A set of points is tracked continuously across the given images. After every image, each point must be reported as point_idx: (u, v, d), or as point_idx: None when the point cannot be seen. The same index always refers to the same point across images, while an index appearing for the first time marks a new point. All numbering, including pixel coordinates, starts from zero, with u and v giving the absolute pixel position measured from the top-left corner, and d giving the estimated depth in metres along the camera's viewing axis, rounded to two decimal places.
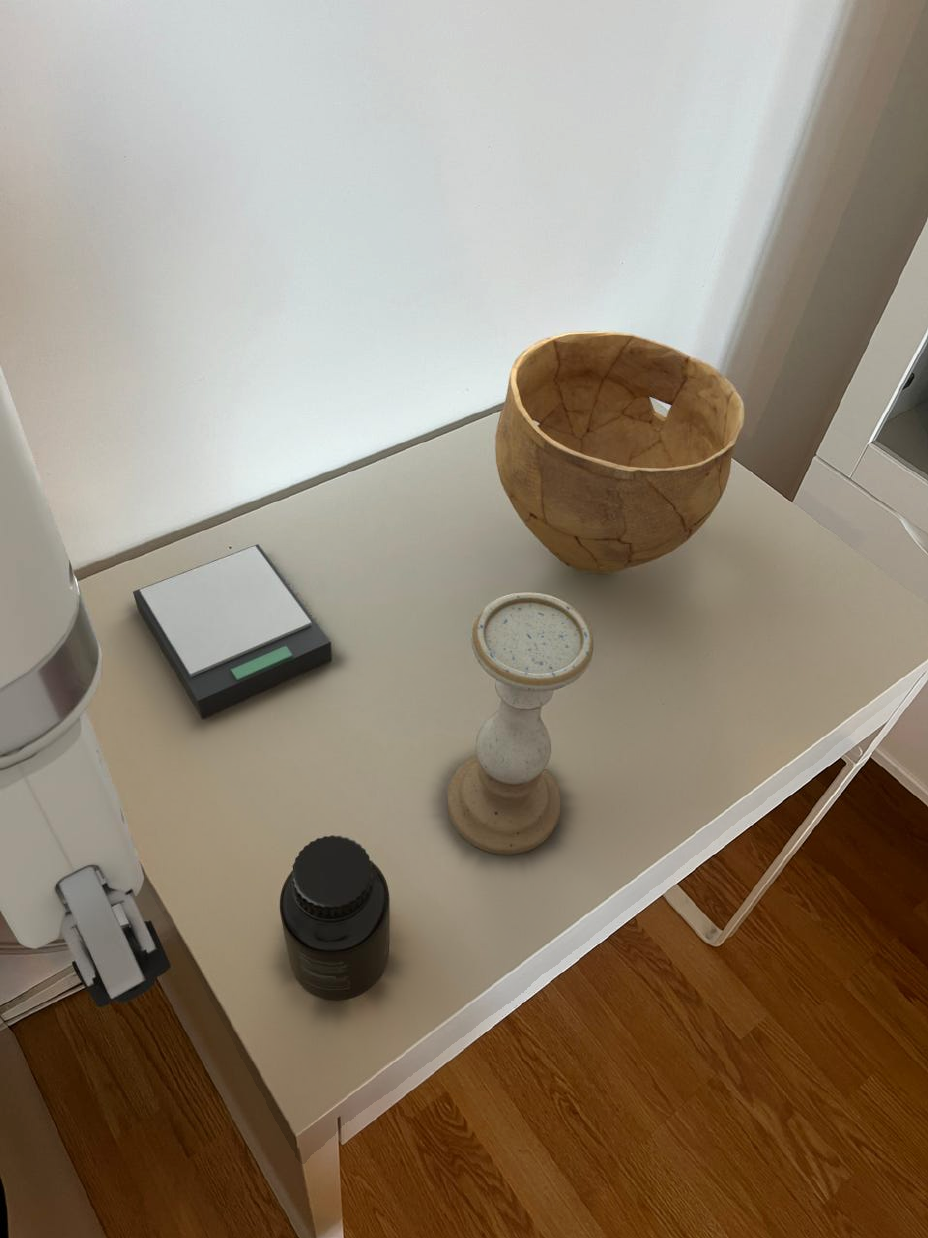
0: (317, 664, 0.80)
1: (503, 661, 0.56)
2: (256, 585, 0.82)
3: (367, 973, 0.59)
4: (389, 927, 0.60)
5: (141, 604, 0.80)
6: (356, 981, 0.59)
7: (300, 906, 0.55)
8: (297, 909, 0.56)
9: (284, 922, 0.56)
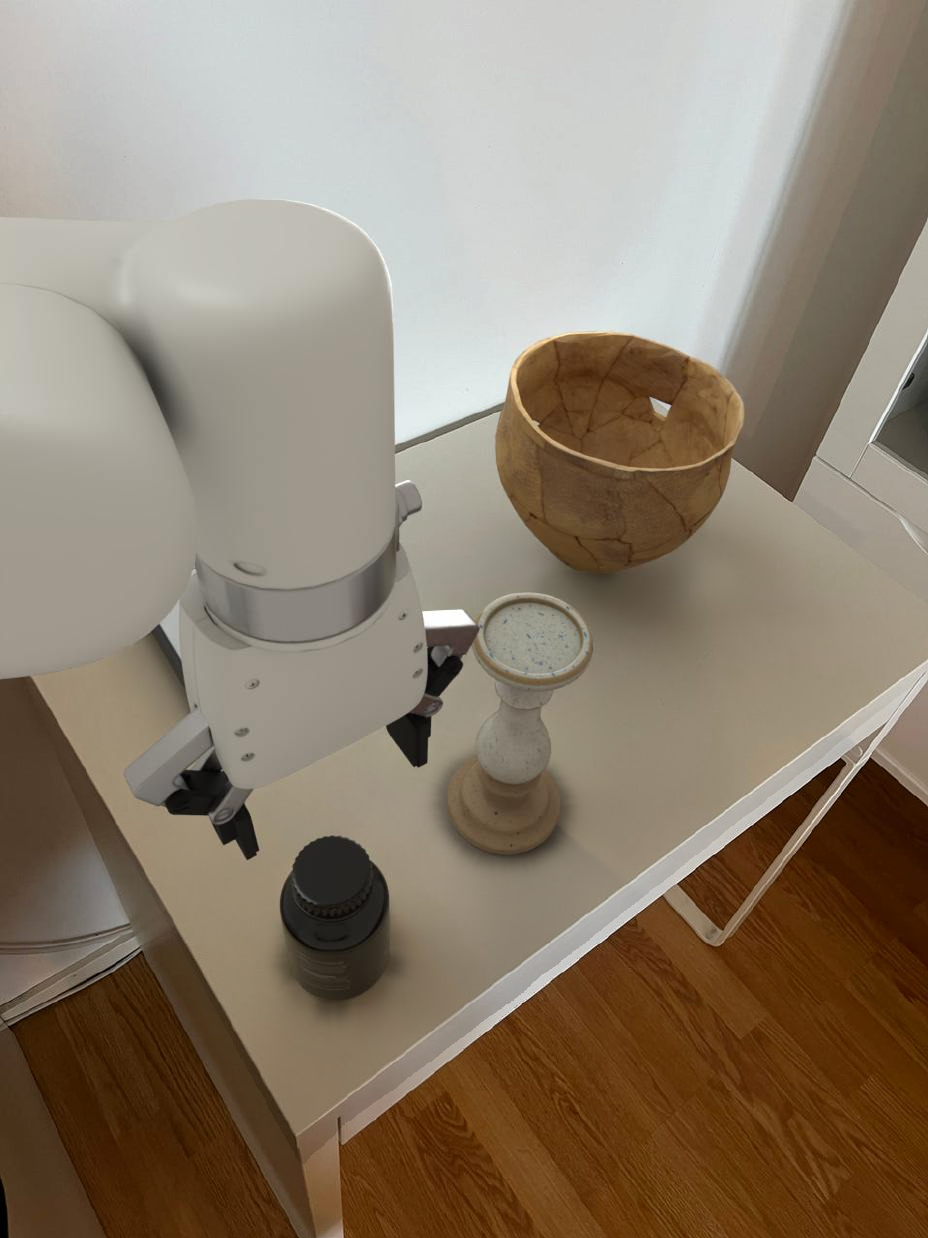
0: None
1: (503, 661, 0.56)
2: None
3: (367, 972, 0.59)
4: (389, 927, 0.60)
5: None
6: (356, 981, 0.59)
7: (300, 906, 0.55)
8: (297, 909, 0.56)
9: (284, 922, 0.56)
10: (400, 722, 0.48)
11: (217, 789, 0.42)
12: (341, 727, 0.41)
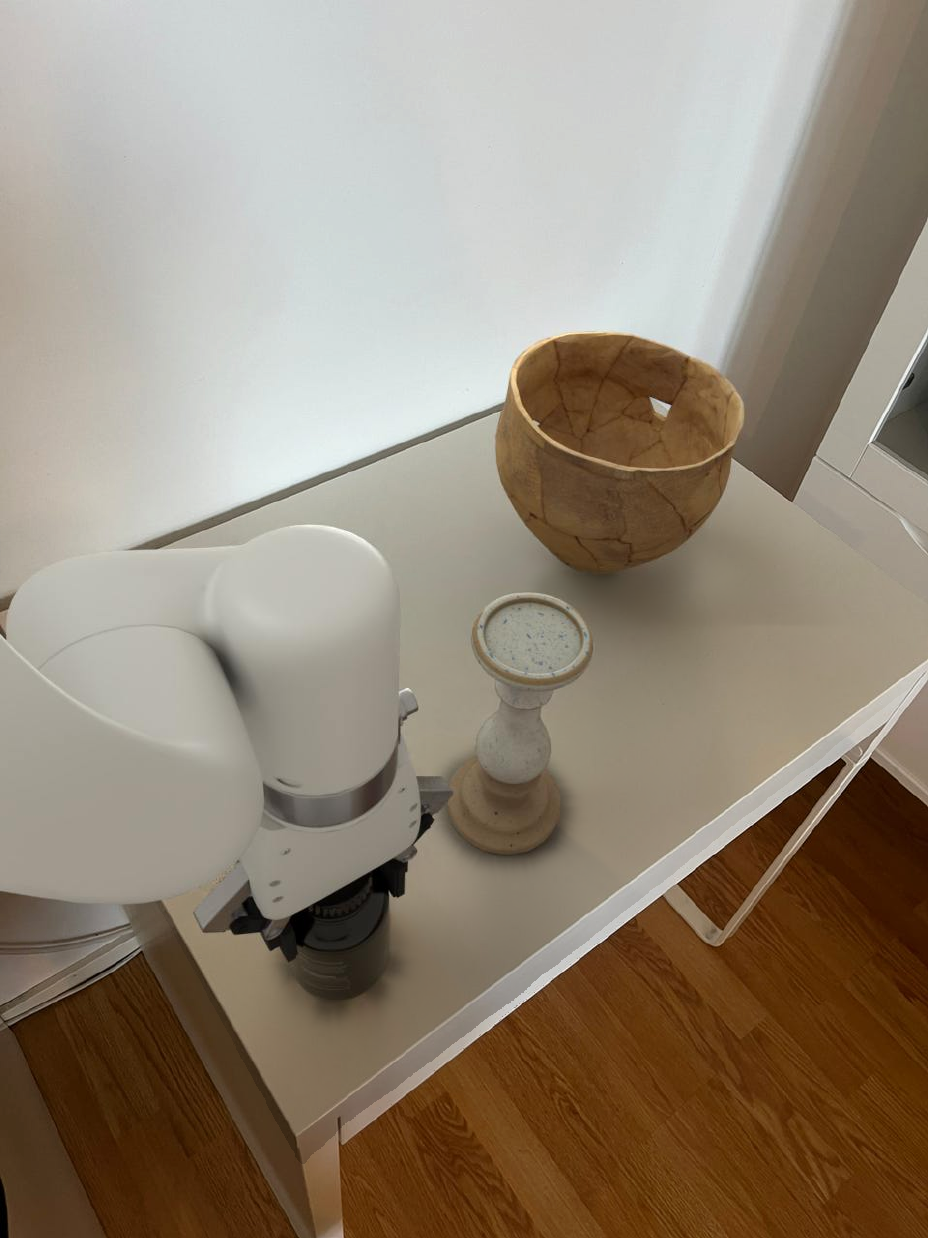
0: None
1: (503, 661, 0.56)
2: None
3: (367, 973, 0.59)
4: (389, 927, 0.60)
5: None
6: (356, 981, 0.59)
7: None
8: None
9: None
10: None
11: None
12: (351, 870, 0.51)
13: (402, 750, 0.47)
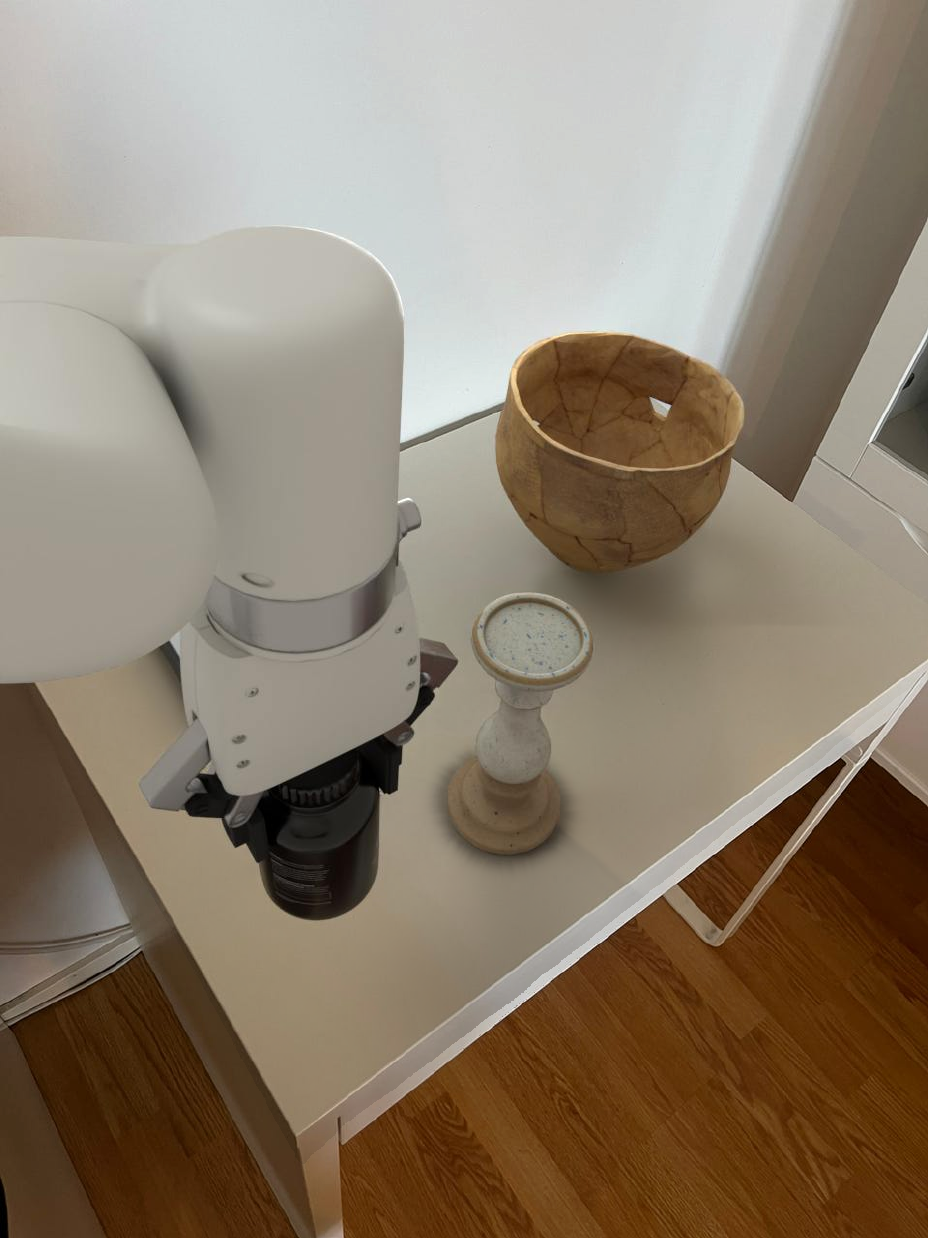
0: None
1: (503, 661, 0.56)
2: None
3: (352, 884, 0.50)
4: None
5: None
6: (338, 893, 0.50)
7: (272, 793, 0.45)
8: (269, 799, 0.47)
9: None
10: (372, 750, 0.49)
11: None
12: (334, 737, 0.41)
13: (400, 577, 0.38)
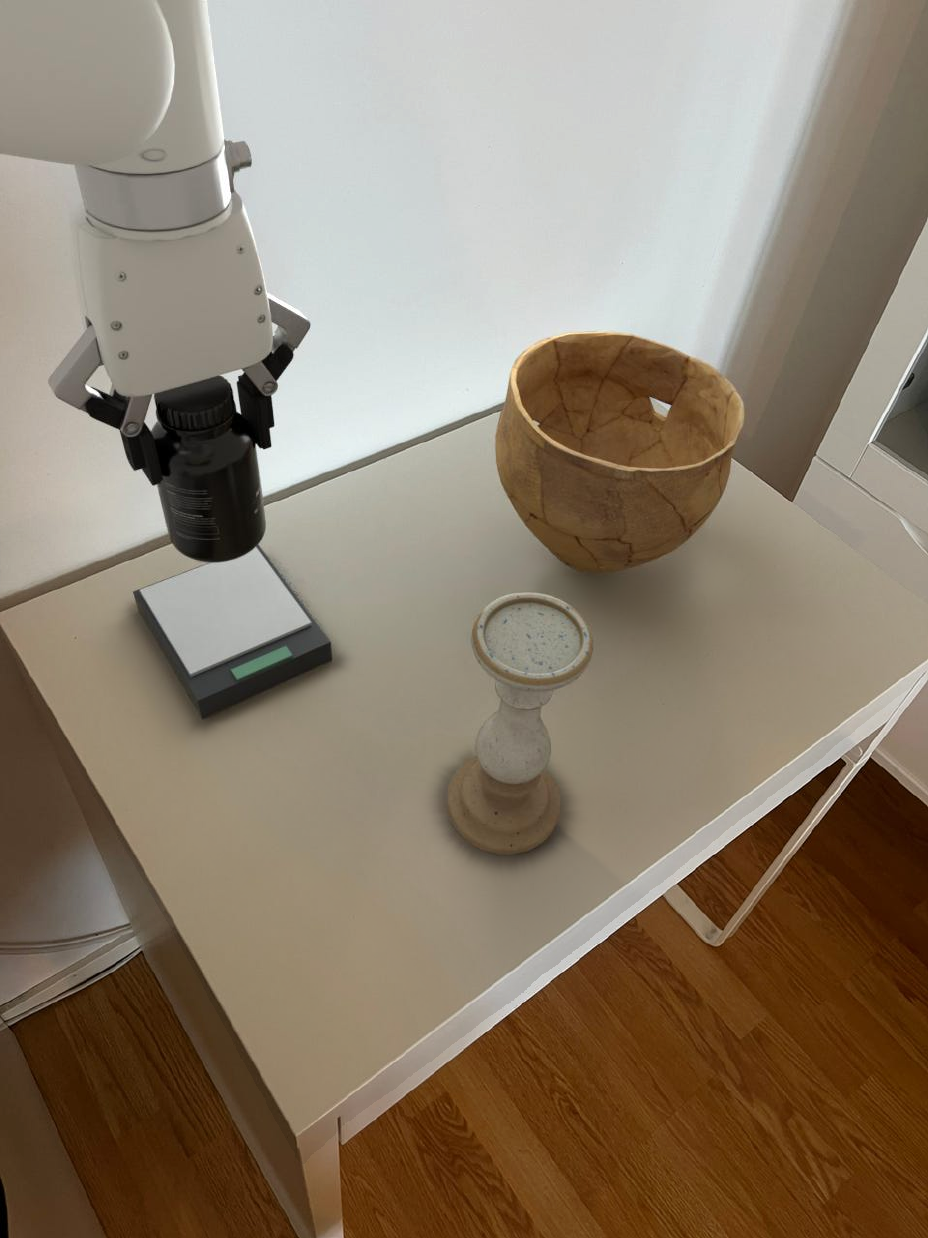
0: (317, 664, 0.80)
1: (503, 661, 0.56)
2: (256, 585, 0.82)
3: (236, 522, 0.62)
4: (259, 486, 0.63)
5: (141, 604, 0.80)
6: (225, 529, 0.62)
7: (162, 422, 0.58)
8: (162, 434, 0.59)
9: None
10: (248, 407, 0.61)
11: None
12: (199, 351, 0.54)
13: (238, 203, 0.50)
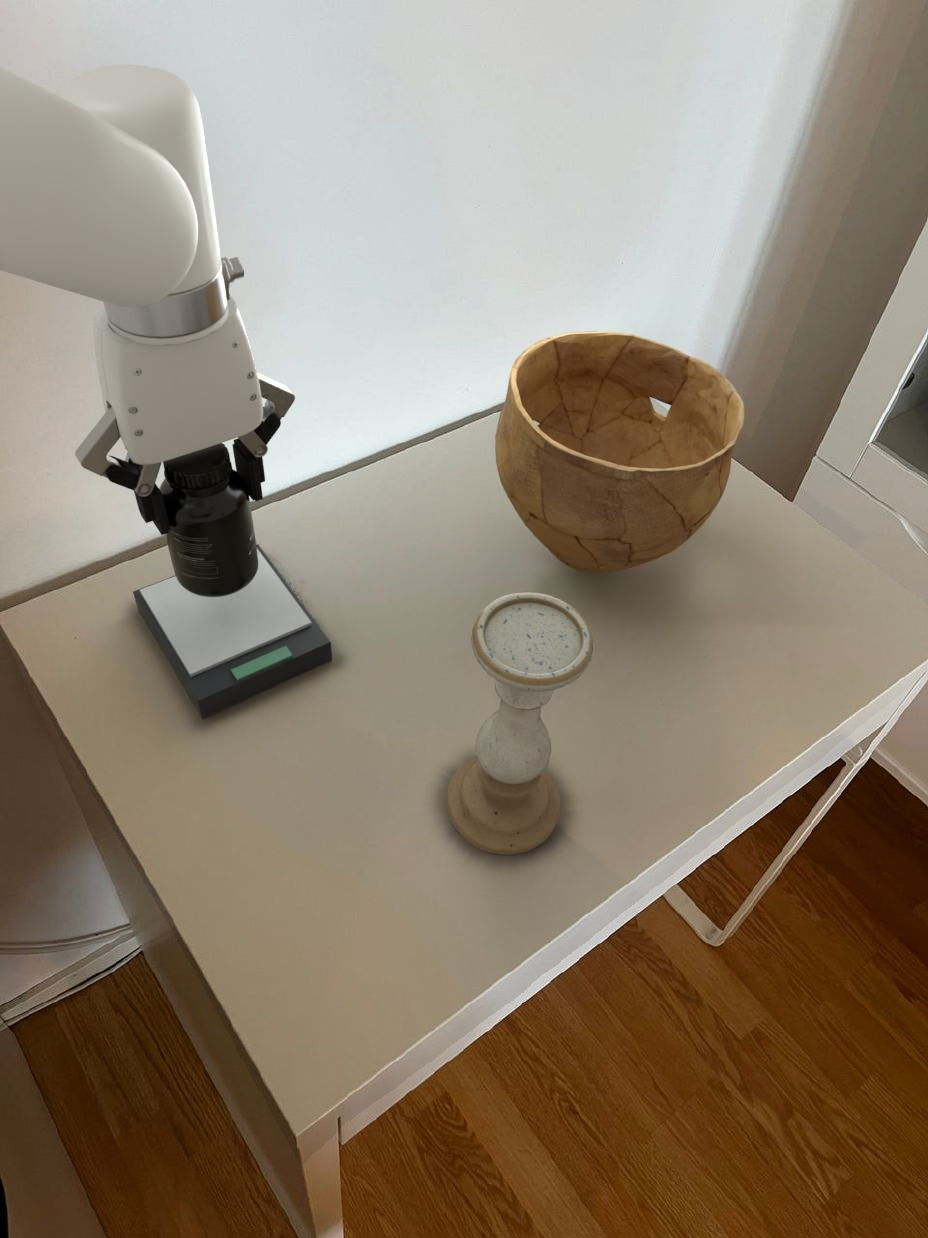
0: (317, 664, 0.80)
1: (503, 661, 0.56)
2: (256, 585, 0.82)
3: (233, 564, 0.73)
4: (252, 532, 0.74)
5: (141, 604, 0.80)
6: (223, 570, 0.73)
7: (169, 482, 0.68)
8: (169, 491, 0.69)
9: None
10: (242, 466, 0.71)
11: None
12: (201, 426, 0.64)
13: (233, 308, 0.61)
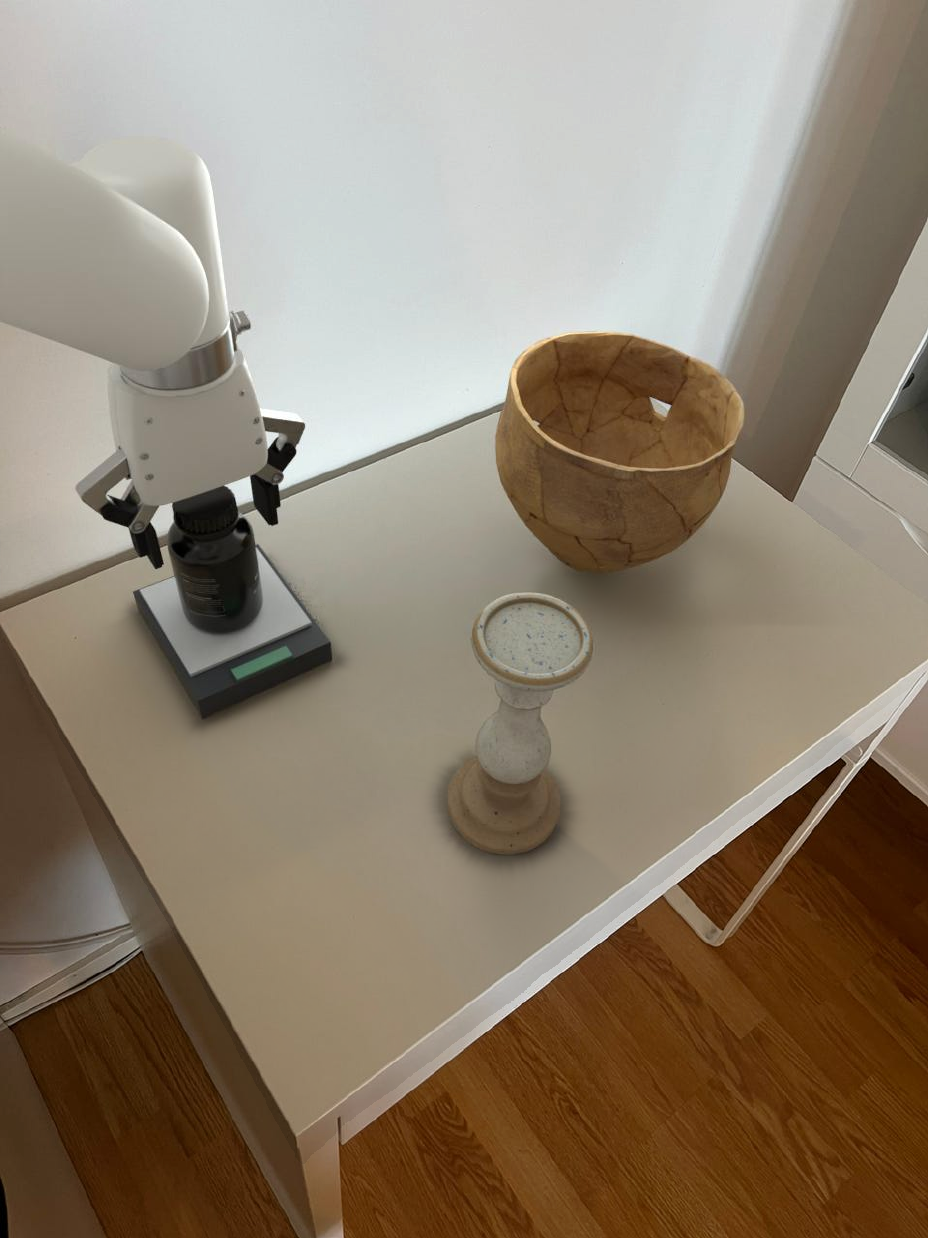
0: (317, 664, 0.80)
1: (503, 661, 0.56)
2: None
3: (239, 602, 0.76)
4: (257, 571, 0.77)
5: (141, 604, 0.80)
6: (230, 608, 0.76)
7: (179, 526, 0.71)
8: (178, 535, 0.72)
9: (169, 547, 0.73)
10: (259, 492, 0.74)
11: (134, 511, 0.68)
12: (209, 469, 0.67)
13: (240, 358, 0.63)
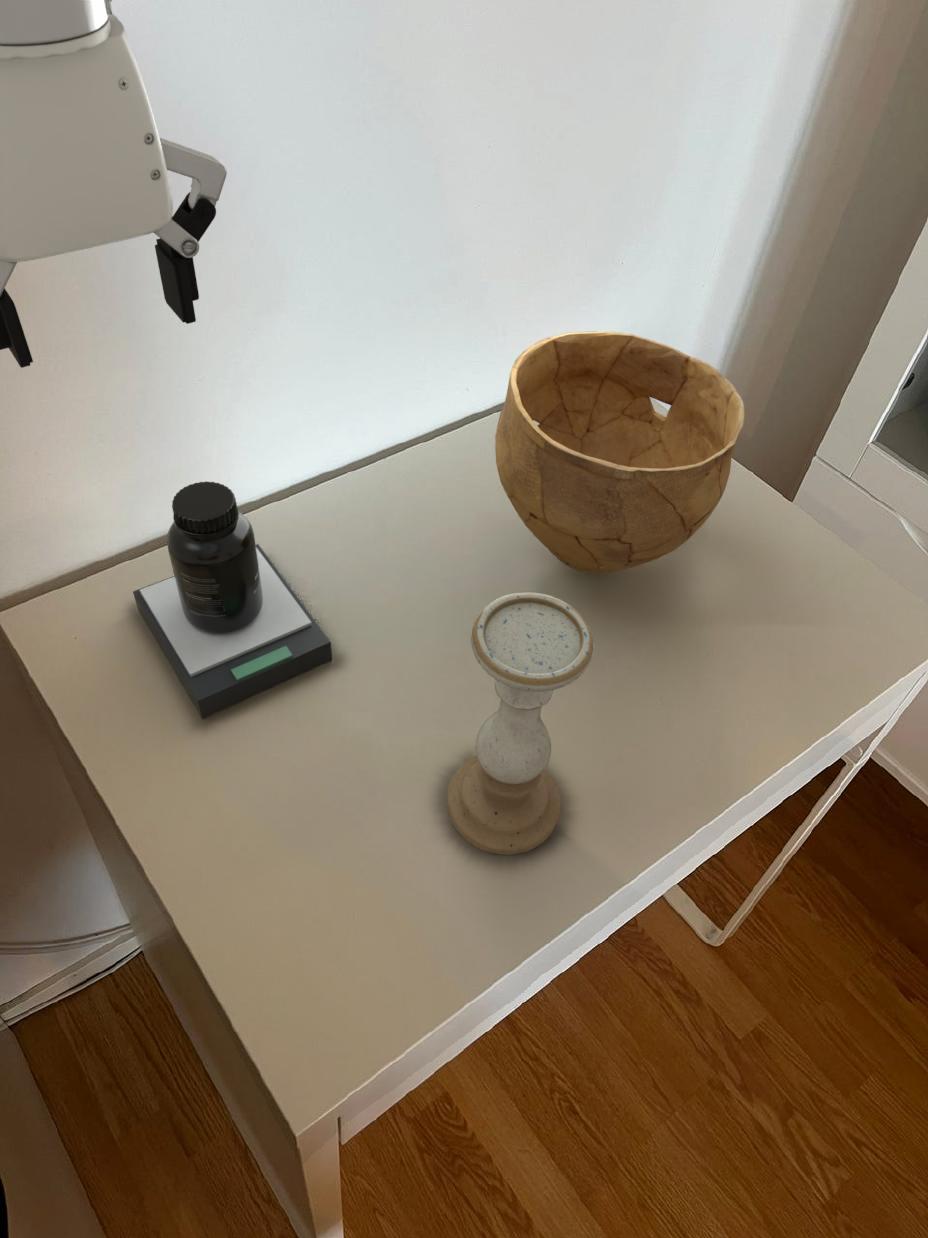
0: (317, 664, 0.80)
1: (503, 661, 0.56)
2: None
3: (239, 602, 0.76)
4: (257, 571, 0.77)
5: (141, 604, 0.80)
6: (230, 608, 0.76)
7: (179, 526, 0.71)
8: (178, 535, 0.72)
9: (169, 547, 0.73)
10: (167, 273, 0.55)
11: None
12: (84, 208, 0.48)
13: (118, 29, 0.44)
